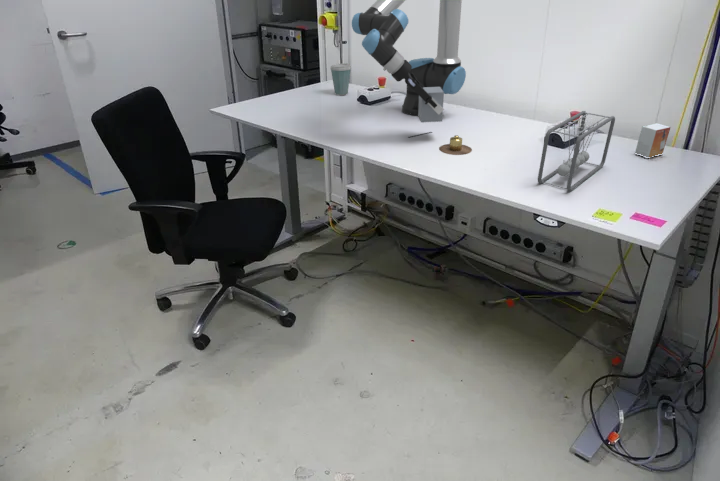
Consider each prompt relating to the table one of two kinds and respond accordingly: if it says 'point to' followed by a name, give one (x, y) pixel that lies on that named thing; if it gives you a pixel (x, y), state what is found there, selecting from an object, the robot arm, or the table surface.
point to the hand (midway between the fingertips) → (439, 108)
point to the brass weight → (455, 143)
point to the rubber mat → (420, 134)
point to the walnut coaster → (463, 151)
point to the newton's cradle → (575, 149)
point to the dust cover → (426, 111)
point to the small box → (652, 139)
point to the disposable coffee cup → (341, 78)
